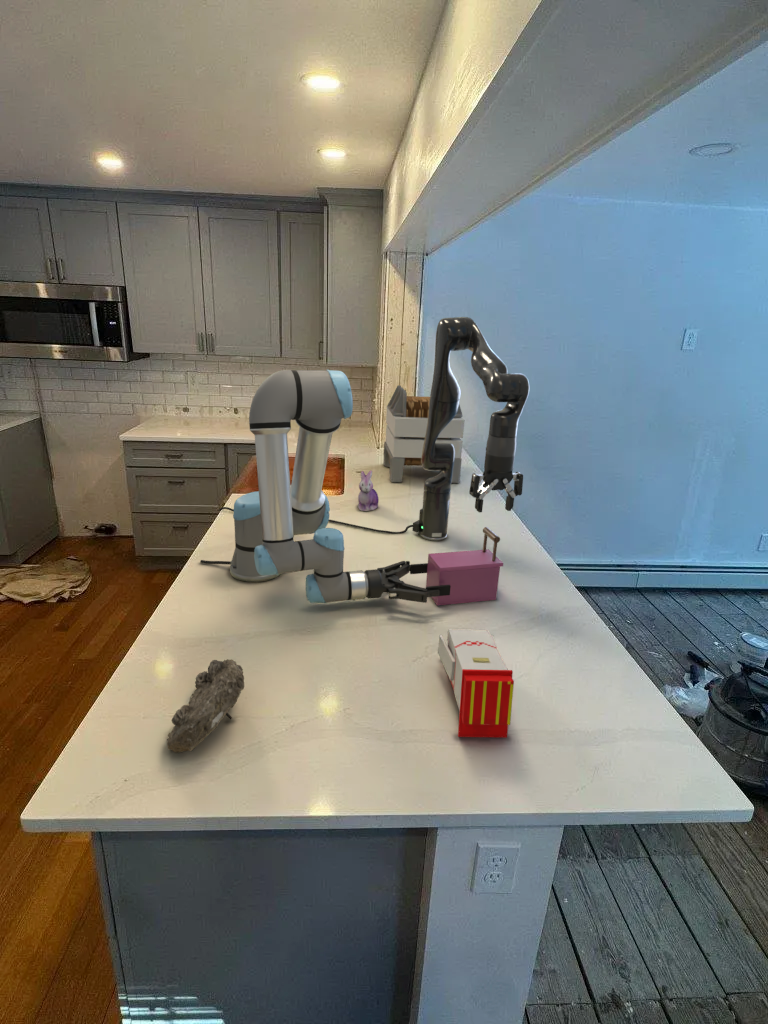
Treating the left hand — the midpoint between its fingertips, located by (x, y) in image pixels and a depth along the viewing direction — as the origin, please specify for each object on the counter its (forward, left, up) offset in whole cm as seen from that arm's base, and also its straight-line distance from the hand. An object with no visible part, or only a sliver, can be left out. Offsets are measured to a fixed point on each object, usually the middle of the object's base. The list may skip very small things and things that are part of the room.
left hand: (440, 578), depth 155 cm
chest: (+6, +3, -6) cm, 9 cm away
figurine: (-34, +67, -6) cm, 75 cm away
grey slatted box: (-19, +124, -6) cm, 126 cm away
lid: (+6, +4, +4) cm, 8 cm away
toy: (+9, -40, -6) cm, 41 cm away
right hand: (+12, +7, +19) cm, 23 cm away
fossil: (-39, -58, -6) cm, 70 cm away
